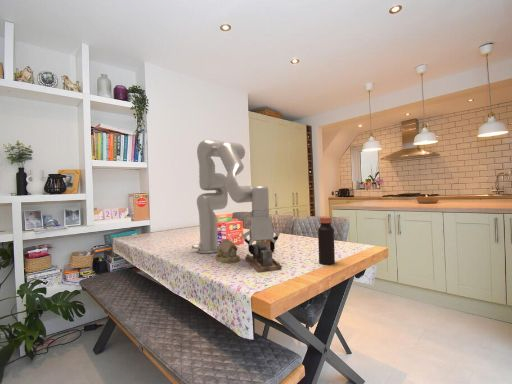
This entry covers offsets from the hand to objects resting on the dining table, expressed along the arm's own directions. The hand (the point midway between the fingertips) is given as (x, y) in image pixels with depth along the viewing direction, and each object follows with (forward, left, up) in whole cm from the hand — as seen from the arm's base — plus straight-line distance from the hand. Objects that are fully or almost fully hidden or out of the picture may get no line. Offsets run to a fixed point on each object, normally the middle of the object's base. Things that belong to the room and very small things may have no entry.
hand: (261, 252), depth 120 cm
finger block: (0, 0, -4) cm, 4 cm away
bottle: (+27, -9, -6) cm, 29 cm away
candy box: (+8, +19, -6) cm, 21 cm away
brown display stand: (0, 0, -5) cm, 5 cm away
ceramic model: (-12, +15, -6) cm, 20 cm away
